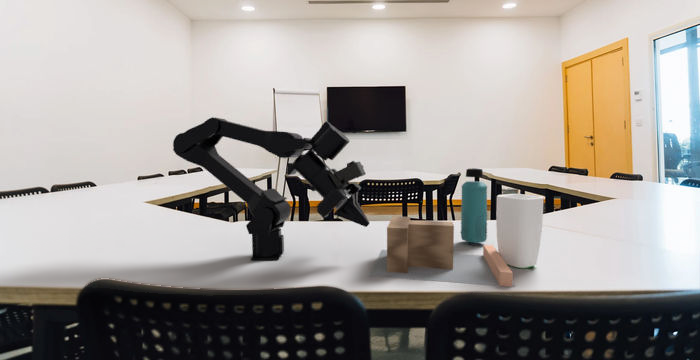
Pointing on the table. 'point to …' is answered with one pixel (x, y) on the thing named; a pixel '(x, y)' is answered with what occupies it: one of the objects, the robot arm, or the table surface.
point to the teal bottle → (474, 208)
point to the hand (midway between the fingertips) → (368, 225)
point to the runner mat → (456, 269)
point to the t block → (419, 244)
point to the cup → (519, 228)
